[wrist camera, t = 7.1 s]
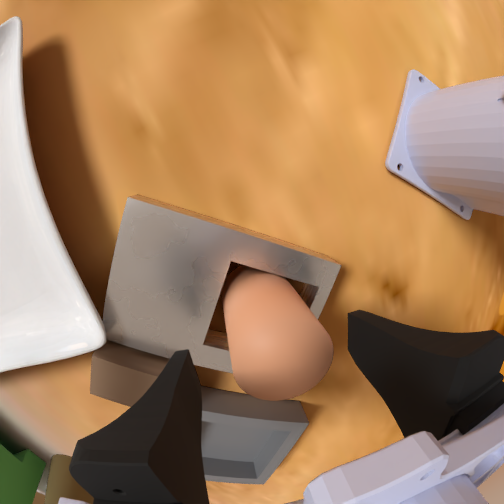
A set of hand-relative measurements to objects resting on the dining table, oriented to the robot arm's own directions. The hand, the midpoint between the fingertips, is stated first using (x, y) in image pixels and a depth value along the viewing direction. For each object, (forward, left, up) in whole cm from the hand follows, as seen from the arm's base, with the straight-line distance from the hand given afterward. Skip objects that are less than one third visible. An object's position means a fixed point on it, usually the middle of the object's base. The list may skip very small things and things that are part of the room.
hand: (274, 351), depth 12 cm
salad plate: (+22, +1, -6) cm, 23 cm away
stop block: (+6, +6, -5) cm, 10 cm away
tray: (-2, +12, -5) cm, 13 cm away
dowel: (0, 0, -5) cm, 5 cm away
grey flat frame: (+2, 0, -5) cm, 6 cm away
